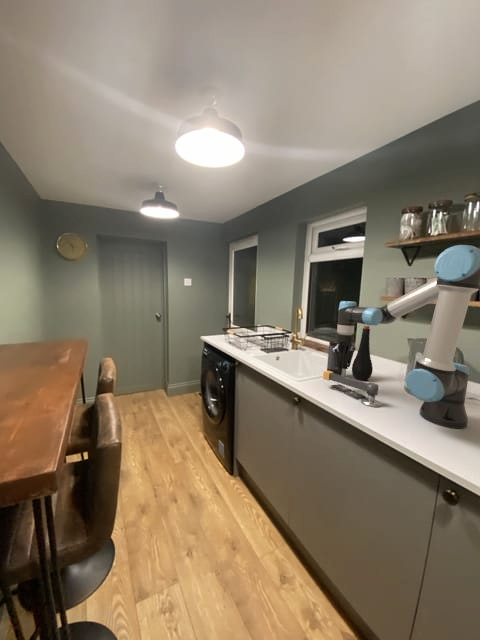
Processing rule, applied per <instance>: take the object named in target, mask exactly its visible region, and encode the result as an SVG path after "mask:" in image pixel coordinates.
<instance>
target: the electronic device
mask: <svg viewBox="0 0 480 640" xmlns="http://www.w3.org/2000/svg"><path fill="white" fill-rule="evenodd" d="M336 344H337V341H334V340H330V341H329V343H328V353H327V354H328V355H327V363H326V365H327V367H326V371H332V372H334V374H338V368H337V367H335V365H334V356H333V351H332V348H335V347H336Z"/></svg>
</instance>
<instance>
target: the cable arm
mask: <svg viewBox="0 0 480 640" xmlns="http://www.w3.org/2000/svg"><path fill="white" fill-rule="evenodd" d="M322 375H323V377H322V378H323V380H326V381H328V382H329V381H332V382H335V383H338V384H340V385H343V386H344V385H345V386H348V387H351V388H354V389H357V390H360V391H363V392H366V393H365V394H367V395H368V394H370V395H375V396H378V394H379V384H377V383H374V382H366V381H359V380H356V379H354V378H351V377H348V376H346V375H345V376H341V375H338V374H334V372H332V371H327V370H326V371H323V374H322Z"/></svg>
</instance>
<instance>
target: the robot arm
mask: <svg viewBox="0 0 480 640" xmlns="http://www.w3.org/2000/svg"><path fill="white" fill-rule="evenodd" d="M433 267H434V272H435V275H436V276H437V277H435V278H434V279H432V280H430V281H428V282H425V284H422V285H421V286H418V287H416V288H415V289H413V290H411V291H409V292H407V293H406V294H404V295H401V296H399V297H397V298H396V299H394V300H392V301H390V302H389V303H386V304H385V305H382V306H380V307H373V306H371V307H368V306H365V307H364V306H357V302H356V301H350V300H349V301H348V300H346V301H345V300H341V301H340V302H339V305H338V306H339V307H338V317H337V318H338V319H337V326H336V327H337V329H336V338H335V340H336V342H337V344H336V347H335V348H332V351H333V356H334V365H335V367H337V368H338V375H341V376H345V377H346V372H347V370H349V367H351V365H352V364H351V363H352V360H353V356H354V353H355V351H356V347H354V346H353V342H354V334H355V324H361V325H365V326H378V325H381V324H382V325H387V324H388V325H389V324H391V323H394V322H395V321H396V320H397V319H398V318H400V317H402V316H405V315H406V314H409V313H411V312H413V311H416V310H417V309H419V308H422V307H424V306H426V305H428V304H430V303H432V302H434V301H436V303H435V308H434V312H433V316H432V319H431V323H430V327H429V331H428V333H427V334H428V335H427V338H426V342H425V345H424V350H423V353H422V355H421V356H420V357H418V358H416V360H415V364H414V369H412V370H410V371H409V372H408V373H407V375H406V378H405V383H406V384H405V385H406V388H407V389H408V391H409V393H410V394H411V395H412V396H413V397H414V398H416V399H418V400H420V401H422V404H421V406H420V409H419V416H421V417H422V418H423V419H424V420H427V421H429V422H431V423H433V424H436V425H439V426H442V427H446V428H451V429H466V428H467V427H468V424H469V423H468V422H469V421H468V420H469V418H468V415H467V411H466V406H465V401H466V396H467V390H468V389H467V388H468V384H469V383H468V381H469V377H470V368H469V366H467V365H465V364H462V363H457V362H454V358H455V353H456V350H457V346H458V342H459V339H460V336H461V331H462V330H463V329H462V328H463V325H464V321H465V318H466V314H467V311H468V308H469V304H470V301H471V296H472V295H473V294H474V293H477V292H478V291H479V290H480V248H478V247H476V246H474V245H468V244H458V245H452V246H450V247H448V248H446V249H444V250H443V251H442V252H441V253H440V254H439V255H438V256H437V257H436V260H435V262H434V266H433Z"/></svg>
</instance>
